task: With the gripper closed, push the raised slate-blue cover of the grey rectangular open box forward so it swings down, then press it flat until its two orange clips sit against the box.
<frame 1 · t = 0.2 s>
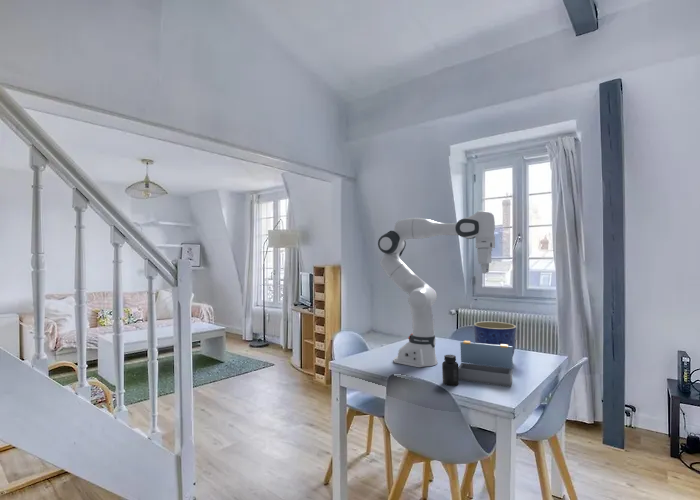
hand: (485, 272, 188), 47 cm above the table, tool pointing down, fingers open, 8 cm apart
duct cover: (485, 354, 177), point 11 cm above the table, hinge at 80.0°
grey rectangular open box: (484, 379, 174), on the table
planter: (494, 361, 203), on the table
supplement bottle: (450, 384, 169), on the table
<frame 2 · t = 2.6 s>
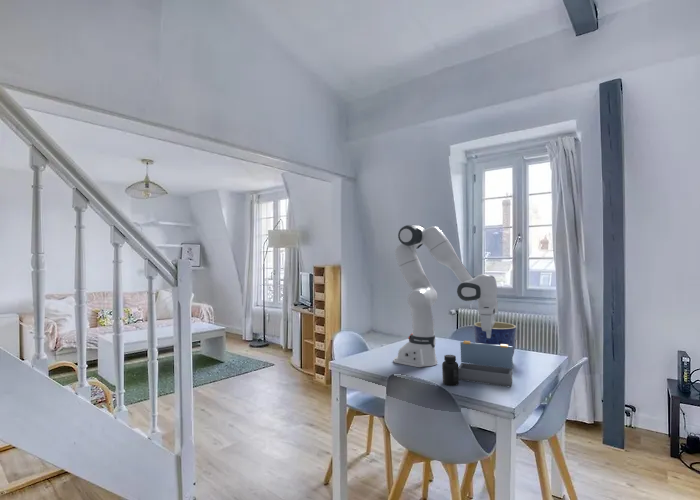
hand: (489, 337, 185), 16 cm above the table, tool pointing down, fingers closed
nothing on the table moved.
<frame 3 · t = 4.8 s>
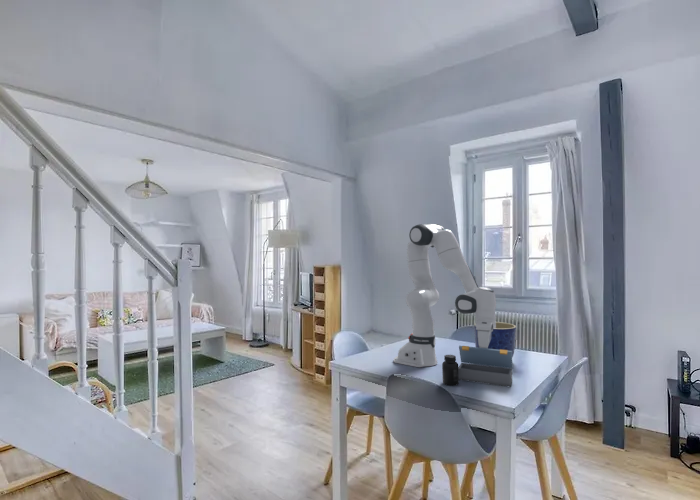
hand: (485, 353, 177), 11 cm above the table, tool pointing down, fingers closed, pressing on duct cover
duct cover: (485, 357, 175), point 10 cm above the table, hinge at 57.3°, touching gripper
everything else where it was.
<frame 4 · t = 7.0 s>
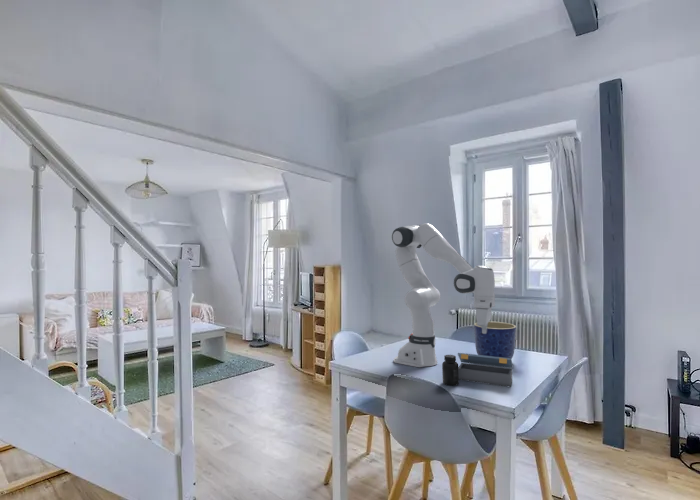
hand: (484, 333, 174), 21 cm above the table, tool pointing down, fingers closed
duct cover: (484, 362, 174), point 8 cm above the table, hinge at 34.5°
everything else where it was.
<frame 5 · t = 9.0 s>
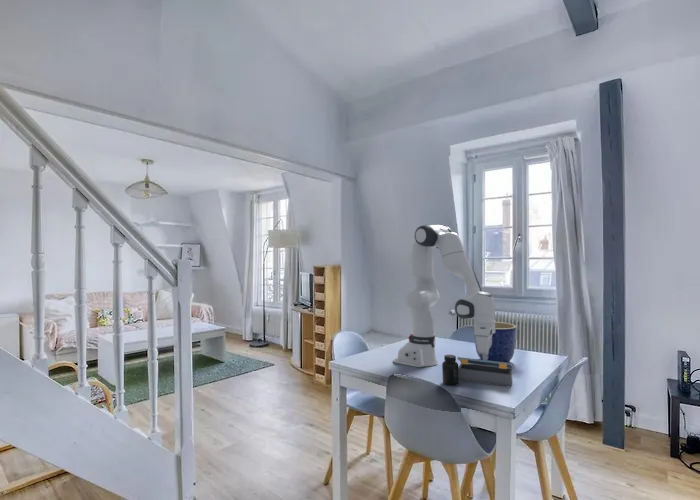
hand: (485, 359, 173), 9 cm above the table, tool pointing down, fingers closed
duct cover: (484, 364, 174), point 7 cm above the table, hinge at 22.8°, touching gripper
everything else where it was.
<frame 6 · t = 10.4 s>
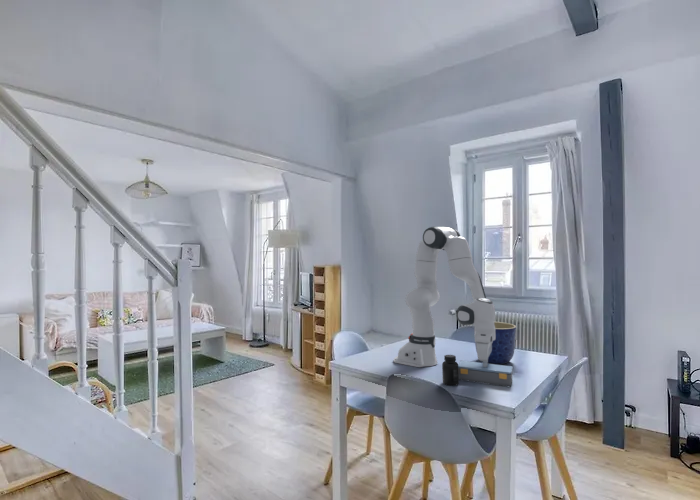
hand: (485, 366, 174), 6 cm above the table, tool pointing down, fingers closed
duct cover: (484, 369, 173), point 5 cm above the table, hinge at 0.5°
everything else where it was.
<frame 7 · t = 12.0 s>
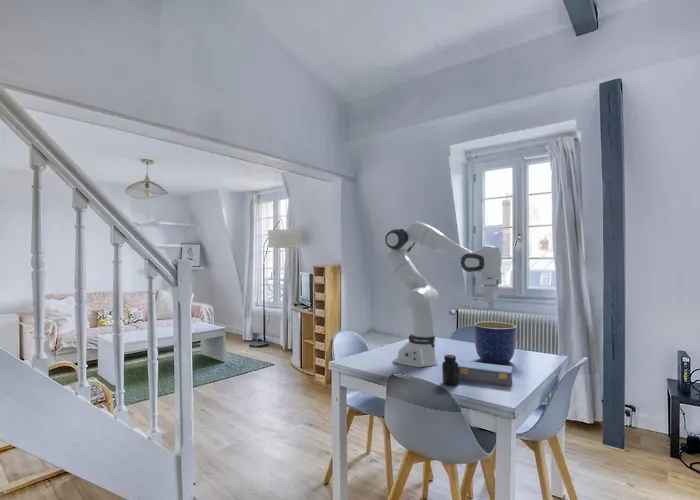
hand: (491, 309, 182), 30 cm above the table, tool pointing down, fingers closed
nothing on the table moved.
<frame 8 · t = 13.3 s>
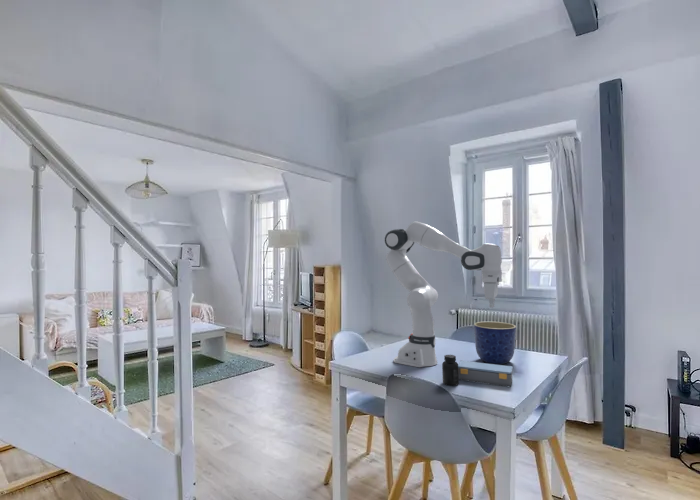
hand: (491, 307, 183), 31 cm above the table, tool pointing down, fingers closed
nothing on the table moved.
at the end: duct cover at +0° (first picture: +80°); supplement bottle moved 0.2 cm from its start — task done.
